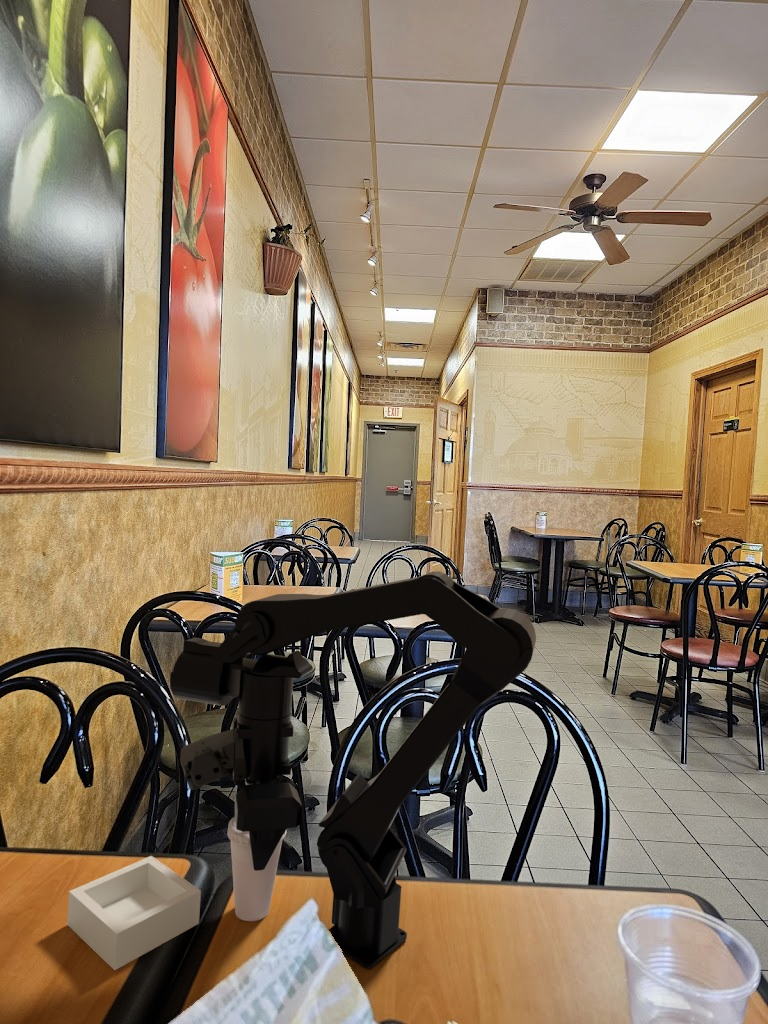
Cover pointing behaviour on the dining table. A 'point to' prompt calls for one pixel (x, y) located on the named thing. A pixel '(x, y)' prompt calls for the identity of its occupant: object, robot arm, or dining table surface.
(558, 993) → the dining table surface
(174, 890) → the box
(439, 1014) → the dining table surface
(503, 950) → the dining table surface
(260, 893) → the smoothie
